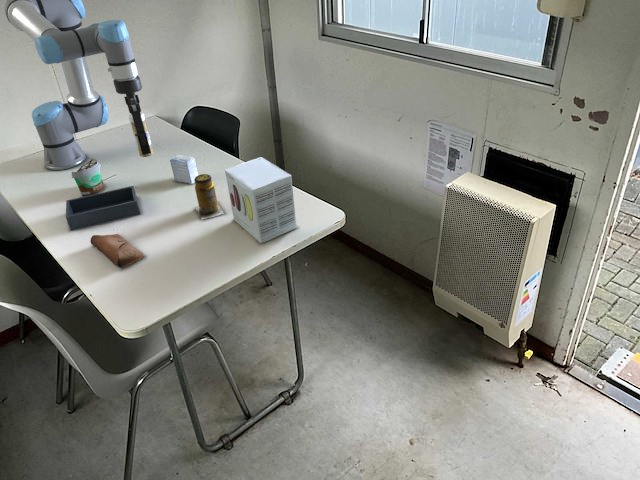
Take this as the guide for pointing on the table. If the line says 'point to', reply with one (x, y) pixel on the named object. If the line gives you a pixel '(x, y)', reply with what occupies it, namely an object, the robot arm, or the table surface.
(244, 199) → the supplement box
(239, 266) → the table surface
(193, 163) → the medicine box
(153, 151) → the sprinkles bottle
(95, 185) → the food container
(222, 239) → the table surface
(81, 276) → the table surface
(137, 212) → the dark grey open tray
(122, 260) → the sunglasses case
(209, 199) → the condiment
